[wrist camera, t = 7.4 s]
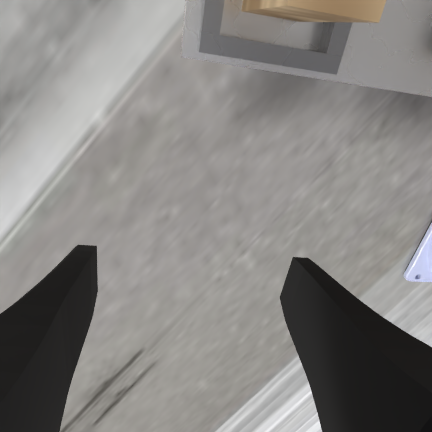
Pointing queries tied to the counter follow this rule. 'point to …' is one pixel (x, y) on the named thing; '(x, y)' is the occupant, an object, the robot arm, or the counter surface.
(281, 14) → the block
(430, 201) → the counter surface
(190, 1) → the rail
